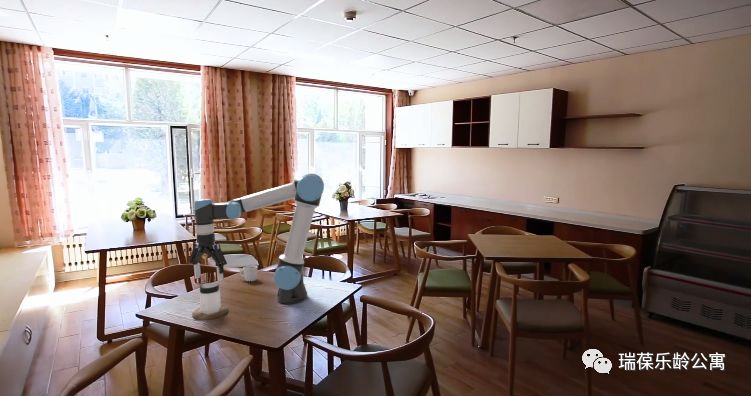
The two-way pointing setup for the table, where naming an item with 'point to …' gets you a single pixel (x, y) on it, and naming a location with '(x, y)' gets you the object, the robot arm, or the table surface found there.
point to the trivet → (202, 316)
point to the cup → (249, 273)
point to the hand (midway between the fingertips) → (209, 279)
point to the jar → (209, 298)
